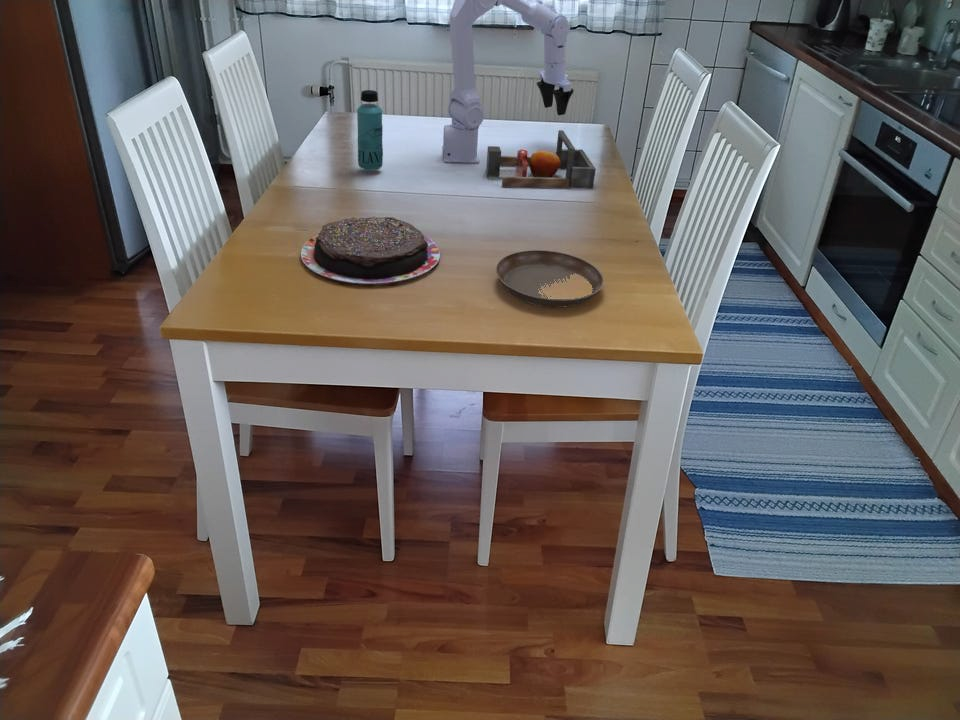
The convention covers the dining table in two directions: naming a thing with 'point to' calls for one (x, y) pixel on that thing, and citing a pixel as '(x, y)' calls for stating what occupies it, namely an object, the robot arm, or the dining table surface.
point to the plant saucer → (544, 275)
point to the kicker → (494, 164)
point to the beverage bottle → (369, 132)
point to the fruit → (544, 164)
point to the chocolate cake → (370, 252)
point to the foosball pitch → (571, 159)
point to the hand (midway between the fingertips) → (554, 110)
